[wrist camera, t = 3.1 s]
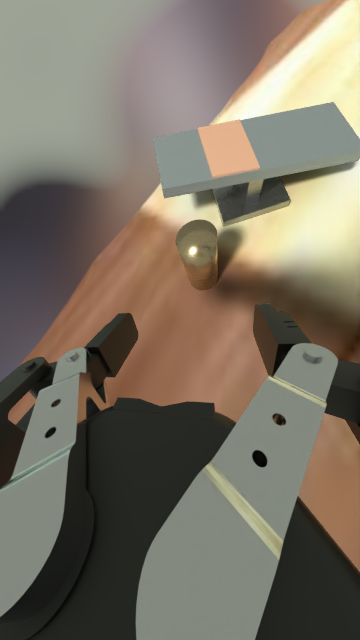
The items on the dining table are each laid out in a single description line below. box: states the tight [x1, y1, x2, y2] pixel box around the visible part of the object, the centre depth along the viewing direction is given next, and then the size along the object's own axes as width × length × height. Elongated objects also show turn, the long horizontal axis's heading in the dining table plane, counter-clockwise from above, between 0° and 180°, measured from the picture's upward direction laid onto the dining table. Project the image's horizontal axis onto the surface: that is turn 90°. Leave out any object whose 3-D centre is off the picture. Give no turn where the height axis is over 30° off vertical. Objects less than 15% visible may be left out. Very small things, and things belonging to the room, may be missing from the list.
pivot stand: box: [212, 176, 290, 227], centre depth 25 cm, size 10×12×5 cm
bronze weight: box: [176, 220, 218, 290], centre depth 21 cm, size 4×4×9 cm
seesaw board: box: [153, 102, 360, 198], centre depth 22 cm, size 26×10×1 cm, turn 100°
